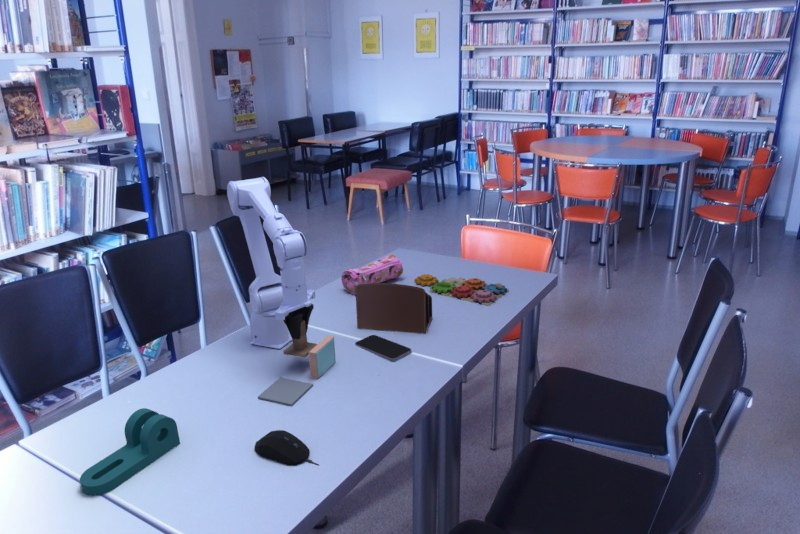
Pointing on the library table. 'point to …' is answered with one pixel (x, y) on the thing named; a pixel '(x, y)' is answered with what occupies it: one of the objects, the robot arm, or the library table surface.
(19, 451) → the library table surface
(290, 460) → the gaming mouse
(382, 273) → the pencil case
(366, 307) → the letter holder
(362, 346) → the smartphone
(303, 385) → the mat
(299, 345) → the stamp
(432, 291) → the gear puzzle
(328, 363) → the tile
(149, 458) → the bracket
